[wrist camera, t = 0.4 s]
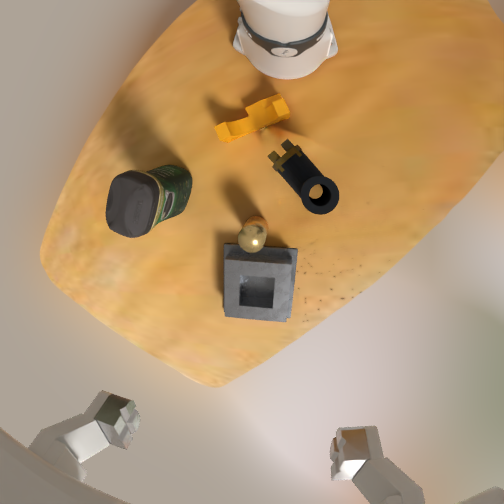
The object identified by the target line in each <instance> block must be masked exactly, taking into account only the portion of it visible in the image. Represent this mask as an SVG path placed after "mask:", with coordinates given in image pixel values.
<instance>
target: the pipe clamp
mask: <svg viewBox="0 0 504 504" xmlns="http://www.w3.org/2000/svg"><path fill="white" fill-rule="evenodd" d="M245 109H246V111H247V113H248V116H249V117H246V118H243V119H240V120H237V121H233V122H223V123H221V124H219V125H217V126H215V127H214V128H215V130H216V132H217V135H218V137H219V139H220V141H223V142H227V143H228V142H230V141H233V140H235V139H237V138H240V137H242V136H245V135H247V134H249V133H252V132H254V131H257V130H259V129H262V128H264V127H267V126H269V125H272V124H274V123H277V122H280V121H282V120H285V119H288V118H290V111H289V109H288V107H287V105H286V102H285V100H284V98H283V99H282V97H281V95H280V93H279V94H276V95H273V96H271V97H268V98H265V99H263V100H260V101H259V102H257V103H255V104H253V105H250V106H248V107H246V108H245Z"/></svg>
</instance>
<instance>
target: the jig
mask: <svg viewBox="0 0 504 504" xmlns="http://www.w3.org/2000/svg"><path fill="white" fill-rule="evenodd" d="M297 252H298V248H285V247H271V246H263V247H262V249H261V250H259V251H257V252H254V253H250V252H246V251H244V250H243V249H242V248H241V247H240V245H239V244H230V243H225V244H224V312H225V316H226V317H235V318H245V319H255V320H266V321H279V322H286V318H290V317H291V308H292V300H293V291H294V282H295V272H296V263H297Z"/></svg>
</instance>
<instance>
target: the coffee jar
mask: <svg viewBox="0 0 504 504" xmlns="http://www.w3.org/2000/svg"><path fill="white" fill-rule="evenodd" d="M191 188H192V177H191V175H190V173H189V172H188V171H187V170H185V169H183V168H180V167H178V166H174V165H165V166H161V167H158V168H156V169H153V170H150V171H147V172H143V171H139V170H129V171H127V172H124V173H122V174H119V175H118V176H116V177H115V178H114V179H113V181H112V183H111V186H110V190H109V194H108V199H107V205H106V220H107V224H108V226H109V228H110V229H111V230H113V231H114V232H116V233H118V234H121V235H123V236H126V237H130V238H135V237H139V236H142V235H145V234H147V233H148V232H150V231H151V230H152V229H153V228H154V226H155V225H157V224H158V223H160V222H162V221H164V220H166V219H169V218H172V217H174V216H177V215H179V214H180V213H182V212H183V211H184V209H185V207H186V205H187V202H188V199H189V196H190V193H191Z"/></svg>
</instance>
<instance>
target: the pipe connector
mask: <svg viewBox="0 0 504 504" xmlns="http://www.w3.org/2000/svg"><path fill="white" fill-rule="evenodd" d="M281 146H282V147H283V148H284V150H285V151H286V153H285V154H284V155H283V156H282V157H280V156H279V155H278V154H277V153H276V152H275V151H273V152H272V153H271V154H269V155H268V157H269V159H270V160H271V161H272V162H273V163H274V165H273V166H272V167H273V168H274V170H275V171H278V173H279V174H280V175H281V176H282V177H283V178H284V179H285V180H286V182H287V183H288V184H289V185H290V186H291V187H292V188H293V190H294V191H295V192H296V193H297V194H298V195H299V197H300V198H301V200H302V203H303V205H304V206H305V208H306V209H307V210H309V211H310V212H312V213H314V214H327V213H329V212H331V211H332V210H333V209H334V208H335V207H336V205H337V204H338V201H339V190H338V188H337V186H336V184H335V183H334V182H333V181H332V180H331V179H329V178H327V177H324V176H323V175H322V173H321V172H320V171H319V170H318V169H317V168H316V166H315V165H314V164H313V163H312V162H311V161H310V159H309V158H308V157H307V156H306V155H305V154H304V153H303V152H302V151H301V150H302V149H301V148H300V147H299V146H298V145H296V146H294V145H293V144H292V143H291V142H290V141H289V140H288V139H287V140H286V141H284V142H283V143H282V144H281ZM317 184H320V185H321V187H322V189H323V193H322V195H321V197H319V198H317V199H313V198H311V197H310V196H309V192H310V189H311V188H312V187H313V186H314V185H317Z"/></svg>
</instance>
